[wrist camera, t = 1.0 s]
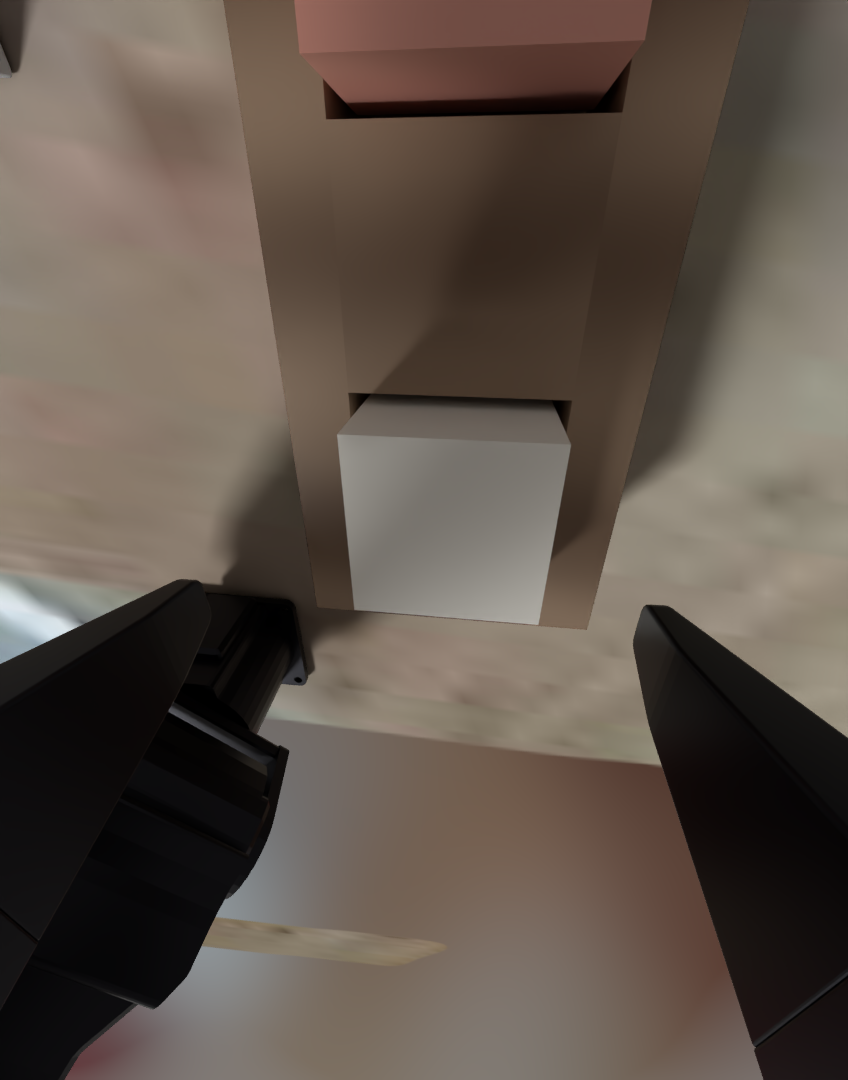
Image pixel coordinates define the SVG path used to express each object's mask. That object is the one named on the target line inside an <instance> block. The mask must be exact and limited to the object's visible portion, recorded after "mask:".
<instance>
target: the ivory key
mask: <svg viewBox="0 0 848 1080" xmlns="http://www.w3.org/2000/svg"><path fill="white" fill-rule="evenodd" d="M337 439H338V449H339V459H340V469H341V479H342V489H343V500H344V510H345V520H346V530H347V540H348V550H349V560H350V571H351V581H352V591H353V601H354V610H362V611H374V612H386V613H399V614H411V615H423V616H435V617H447V618H460V619H472V620H484V621H496V622H508V623H521V624H533V625H538V624H539V619H540V613H541V608H542V602H543V597H544V591H545V586H546V580H547V575H548V569H549V564H550V558H551V553H552V547H553V542H554V536H555V531H556V525H557V520H558V514H559V509H560V503H561V498H562V492H563V487H564V481H565V476H566V470H567V465H568V459H569V454H570V448H571V443H570V441H569V439H568V436H567V434H566V432H565V430H564V427H563V425H562V423H561V421H560V418H559V416H558V414H557V411H556V409H555V407H554V405H553V402H552V400H542V399H514V398H486V397H457V396H429V395H401V394H373V393H371V394H370V396H369V397H368V398H367V399H366V400H365V402H364V403H363V404H362V405H361V406H360V408H359V409H358V410H357V411H356V412H355V413H354V415H353V416H352V417H351V418H350V419H349V421H348V422H347V423H346V424H345V425H344V427H343V428H342V429H341V430H340V431H339V433H338V434H337Z"/></svg>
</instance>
